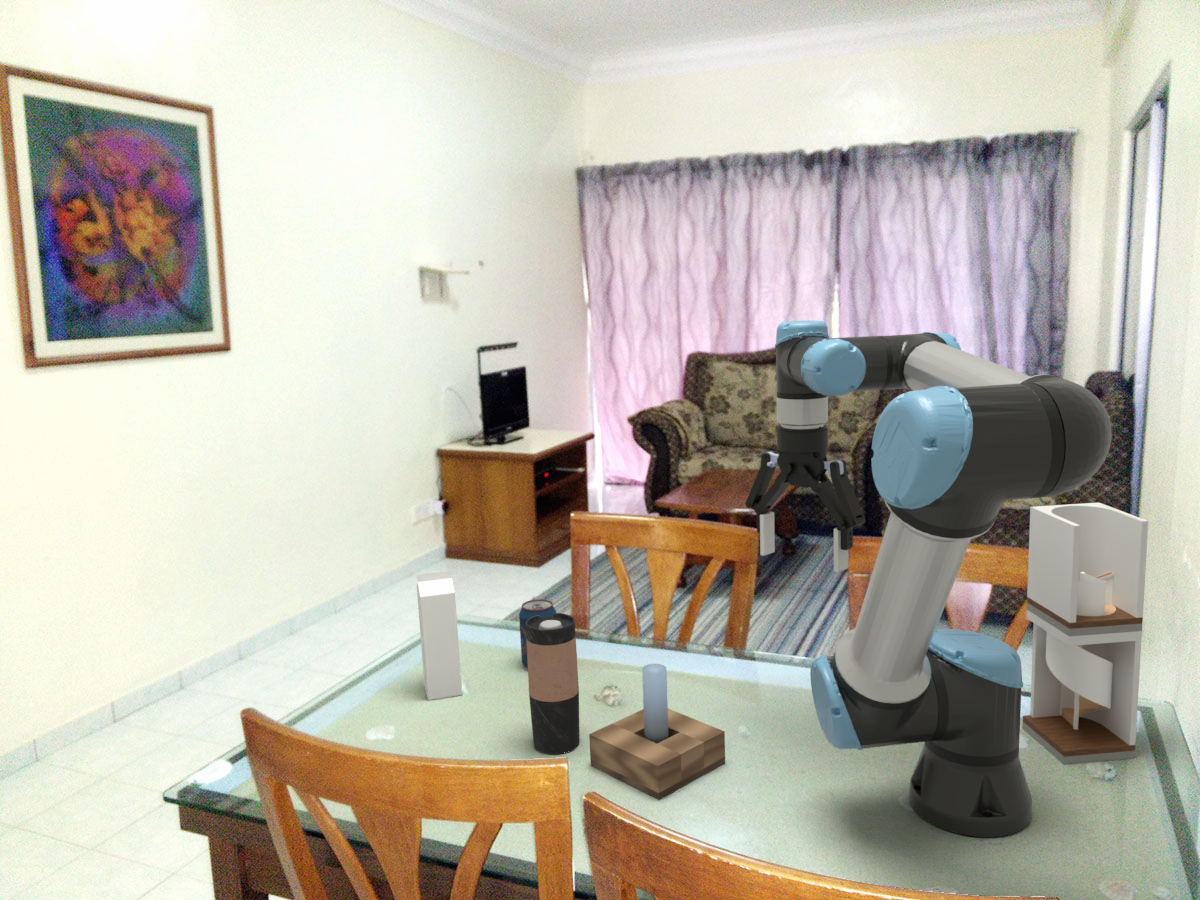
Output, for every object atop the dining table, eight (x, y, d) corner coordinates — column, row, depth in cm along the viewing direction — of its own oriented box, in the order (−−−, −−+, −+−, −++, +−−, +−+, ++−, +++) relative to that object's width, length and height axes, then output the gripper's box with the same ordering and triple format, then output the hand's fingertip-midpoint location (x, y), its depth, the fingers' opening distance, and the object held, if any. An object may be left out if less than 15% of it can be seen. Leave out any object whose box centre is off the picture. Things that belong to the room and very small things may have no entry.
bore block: (725, 763, 143) (724, 731, 142) (659, 799, 134) (657, 766, 133) (656, 733, 154) (655, 703, 153) (590, 765, 144) (589, 734, 143)
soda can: (519, 661, 185) (515, 600, 183) (555, 656, 187) (552, 596, 184) (525, 675, 178) (521, 612, 176) (562, 670, 180) (559, 608, 178)
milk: (462, 695, 171) (454, 574, 167) (427, 701, 169) (418, 579, 165) (457, 682, 177) (449, 565, 173) (423, 687, 175) (415, 569, 171)
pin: (674, 758, 143) (671, 668, 141) (657, 766, 141) (653, 675, 139) (657, 750, 146) (654, 661, 144) (640, 758, 144) (637, 668, 141)
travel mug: (563, 760, 146) (556, 633, 143) (522, 748, 150) (514, 625, 147) (590, 738, 153) (585, 616, 149) (550, 728, 157) (544, 609, 153)
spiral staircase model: (1022, 728, 150) (1030, 506, 144) (1088, 722, 151) (1099, 502, 145) (1063, 764, 139) (1074, 525, 133) (1134, 758, 140) (1148, 521, 134)
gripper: (890, 428, 140) (888, 571, 143) (752, 415, 158) (754, 542, 161) (861, 435, 135) (860, 583, 138) (722, 421, 153) (724, 552, 156)
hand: (803, 561), depth 150 cm, fingers open, 13 cm apart
